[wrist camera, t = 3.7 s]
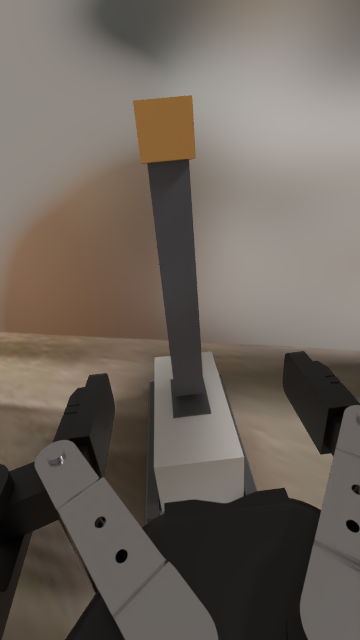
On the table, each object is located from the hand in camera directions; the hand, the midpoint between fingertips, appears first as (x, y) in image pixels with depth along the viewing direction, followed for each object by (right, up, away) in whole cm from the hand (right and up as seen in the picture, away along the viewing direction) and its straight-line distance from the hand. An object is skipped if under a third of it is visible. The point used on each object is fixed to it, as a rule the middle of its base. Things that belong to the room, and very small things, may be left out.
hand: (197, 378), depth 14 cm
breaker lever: (0, -4, +14) cm, 15 cm away
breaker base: (+1, -10, +17) cm, 19 cm away
